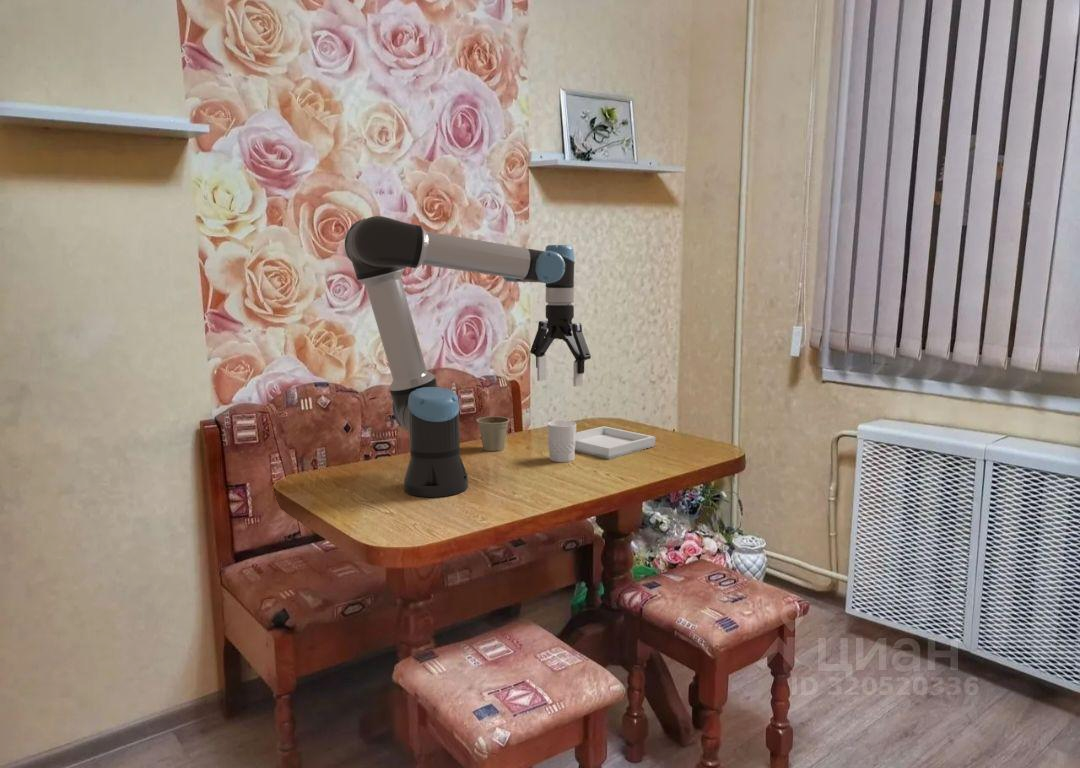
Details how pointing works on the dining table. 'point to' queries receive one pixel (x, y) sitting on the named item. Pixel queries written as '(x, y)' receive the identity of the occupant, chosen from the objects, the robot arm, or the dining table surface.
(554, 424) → the white cup
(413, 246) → the robot arm
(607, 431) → the tray
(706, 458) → the dining table surface
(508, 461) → the dining table surface
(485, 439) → the flower pot
